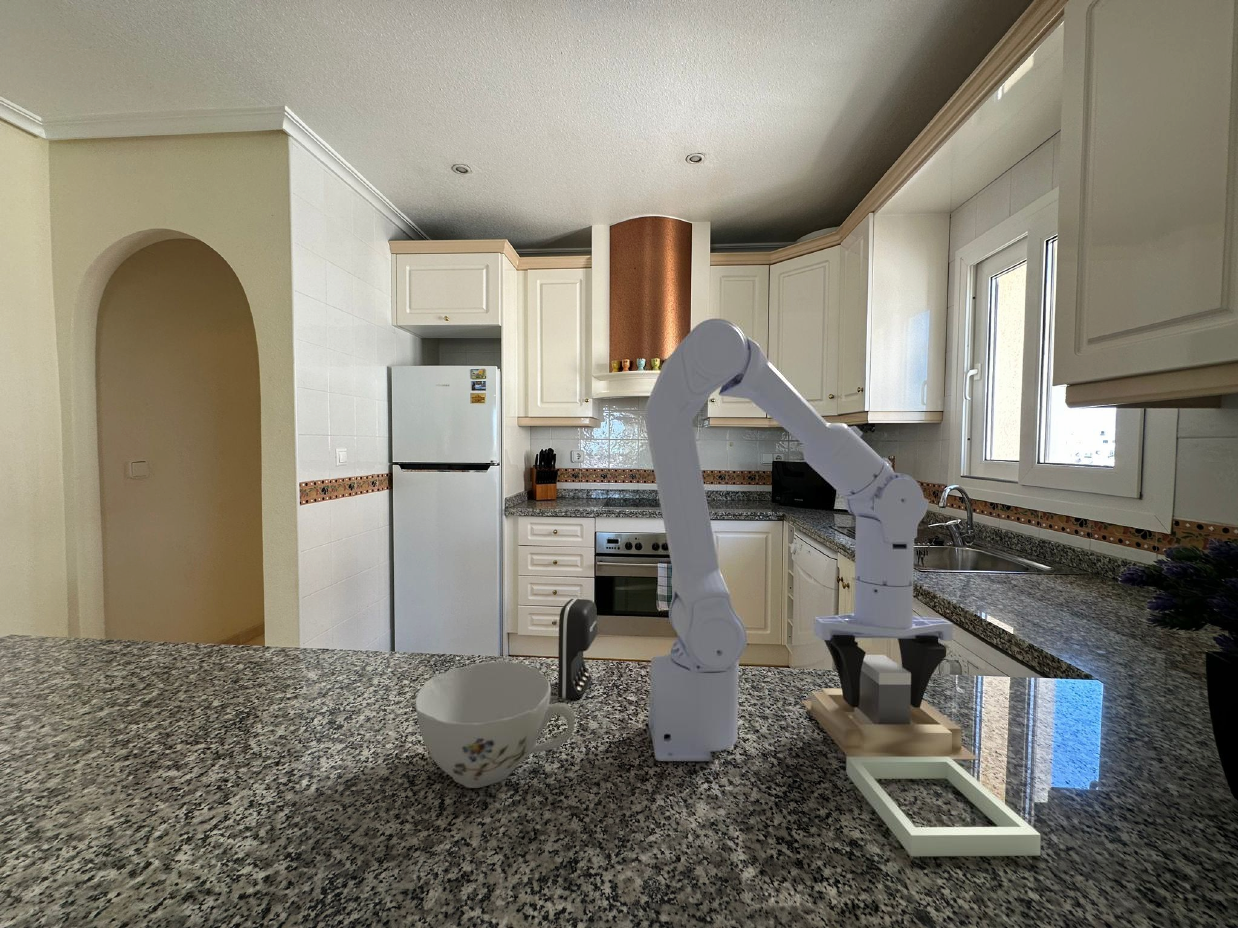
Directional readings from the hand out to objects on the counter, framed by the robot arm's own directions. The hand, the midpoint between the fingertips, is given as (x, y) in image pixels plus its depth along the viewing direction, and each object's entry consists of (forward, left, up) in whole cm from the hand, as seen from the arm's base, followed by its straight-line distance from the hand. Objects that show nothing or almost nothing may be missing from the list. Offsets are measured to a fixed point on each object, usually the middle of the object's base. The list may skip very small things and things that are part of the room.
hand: (881, 703), depth 55 cm
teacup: (-41, -6, -4) cm, 42 cm away
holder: (0, 0, -4) cm, 4 cm away
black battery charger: (-34, +11, -4) cm, 36 cm away
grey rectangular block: (0, 0, -3) cm, 3 cm away
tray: (-3, -13, -4) cm, 14 cm away
